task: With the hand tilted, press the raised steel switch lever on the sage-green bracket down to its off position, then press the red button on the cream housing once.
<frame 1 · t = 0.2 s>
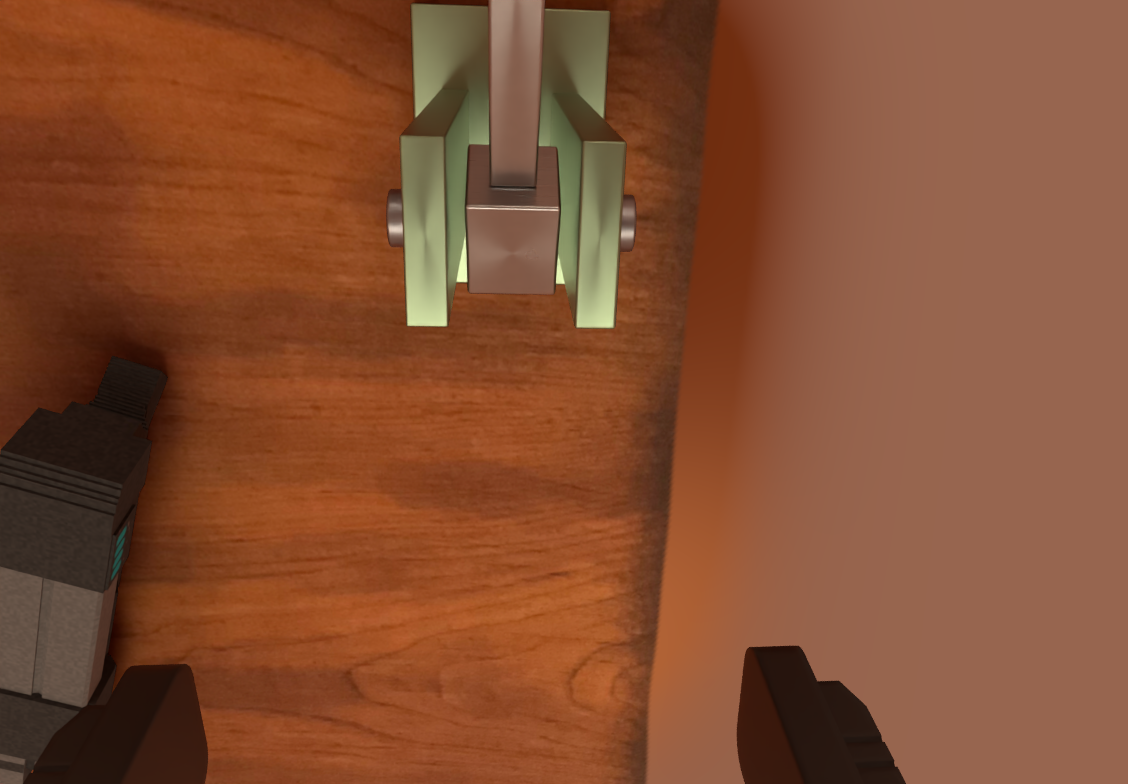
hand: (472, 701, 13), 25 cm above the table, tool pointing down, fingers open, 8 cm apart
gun: (102, 558, 40), on the table
switch bracket: (509, 149, 34), on the table
switch lever: (516, 0, 18), point 16 cm above the table, hinge at 28.0°
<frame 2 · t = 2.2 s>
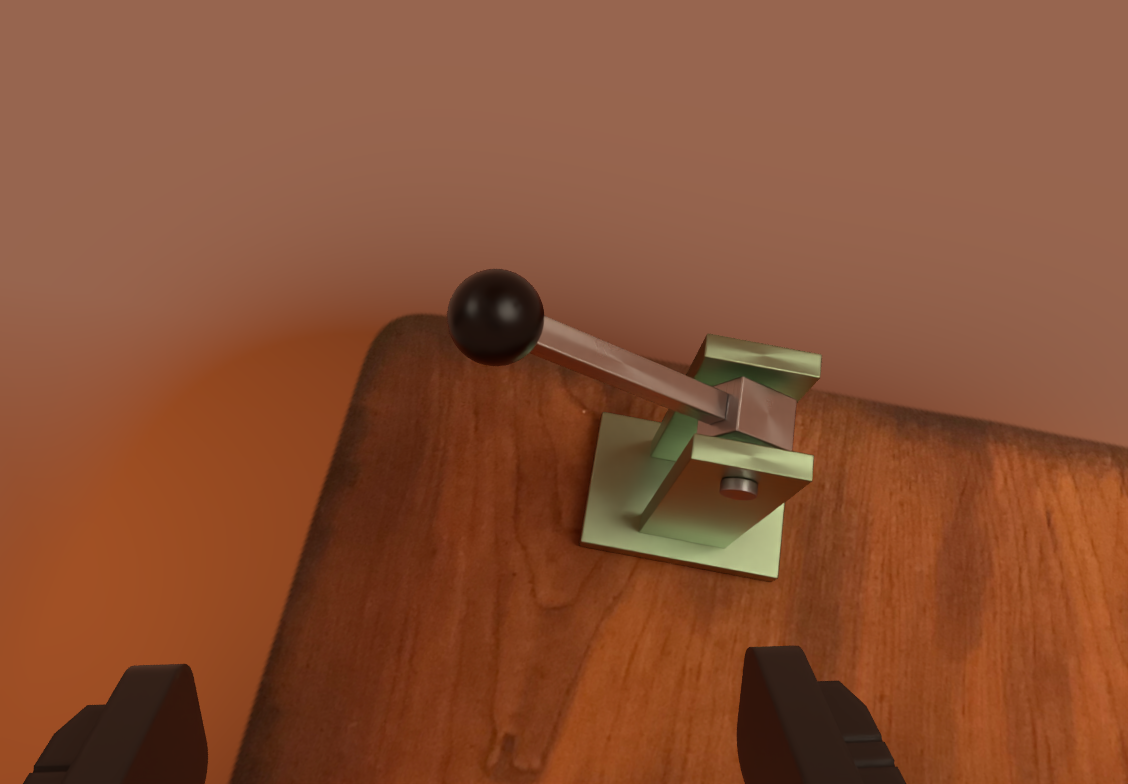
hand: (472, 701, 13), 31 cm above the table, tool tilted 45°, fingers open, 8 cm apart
switch bracket: (683, 498, 46), on the table
switch lever: (628, 372, 32), point 16 cm above the table, hinge at 28.0°
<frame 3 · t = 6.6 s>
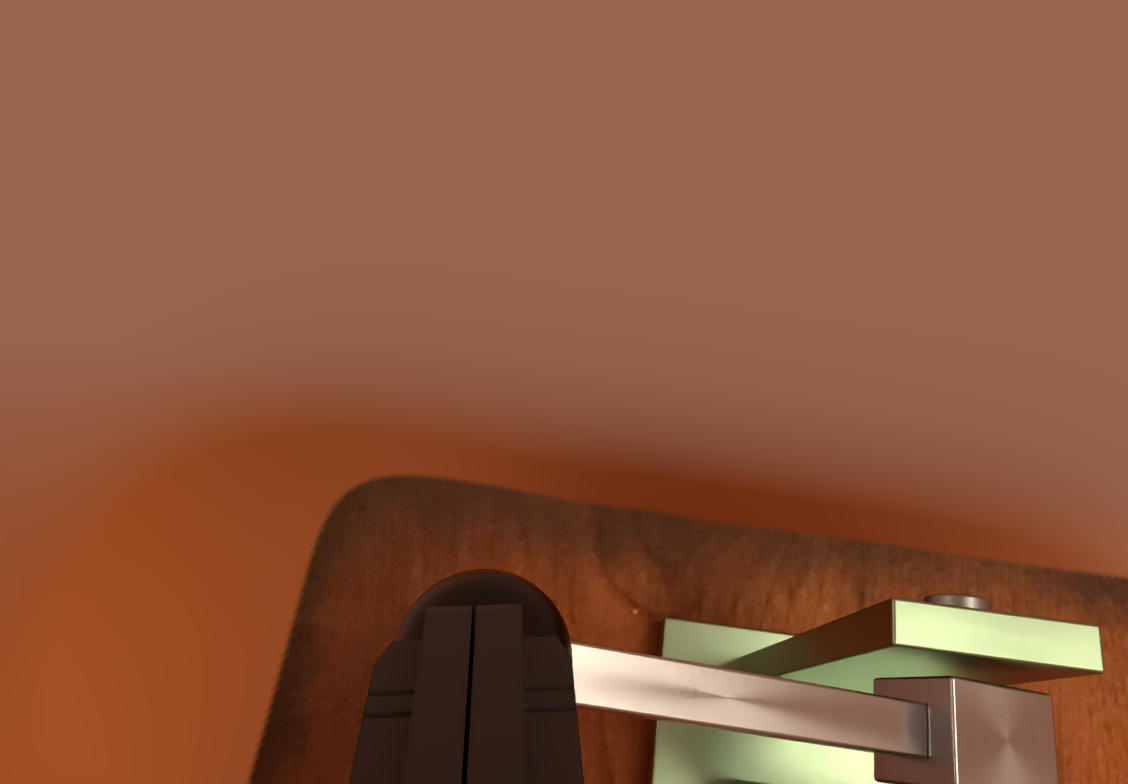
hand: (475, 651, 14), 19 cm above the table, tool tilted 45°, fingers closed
switch bracket: (791, 739, 31), on the table
switch lever: (741, 702, 17), point 15 cm above the table, hinge at 19.7°
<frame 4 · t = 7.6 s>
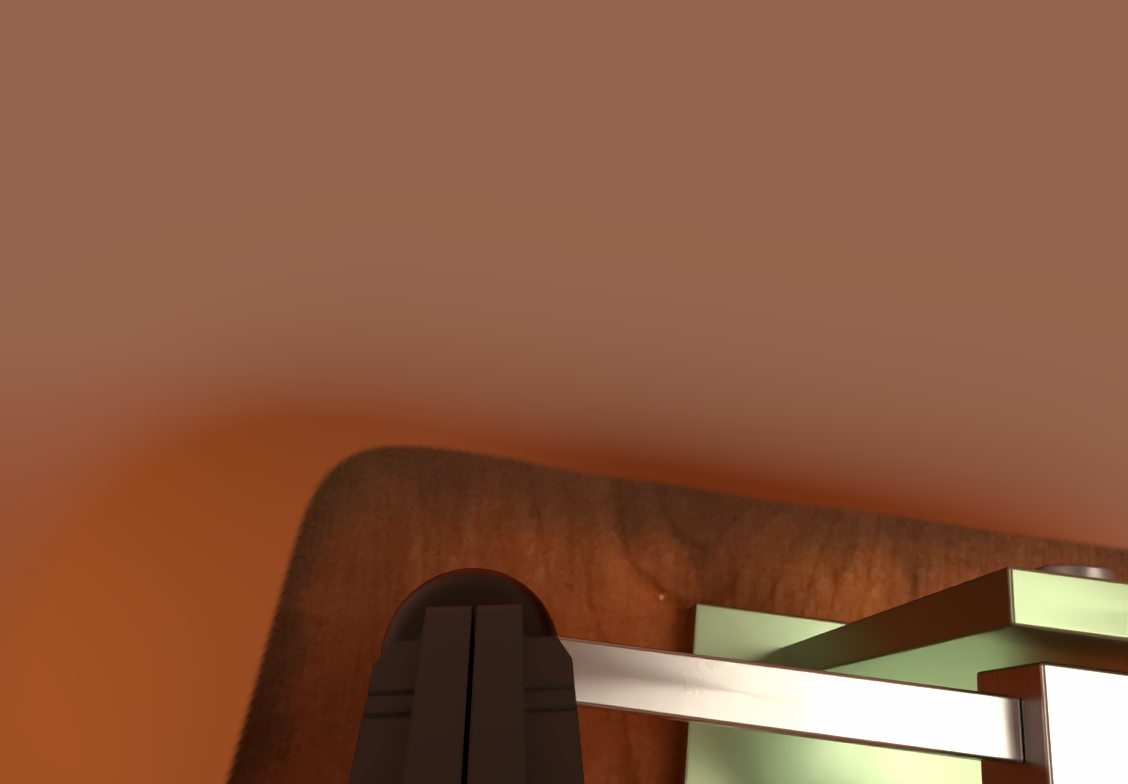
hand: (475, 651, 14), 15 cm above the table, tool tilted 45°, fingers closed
switch bracket: (839, 741, 28), on the table
switch lever: (772, 699, 16), point 13 cm above the table, hinge at -1.0°
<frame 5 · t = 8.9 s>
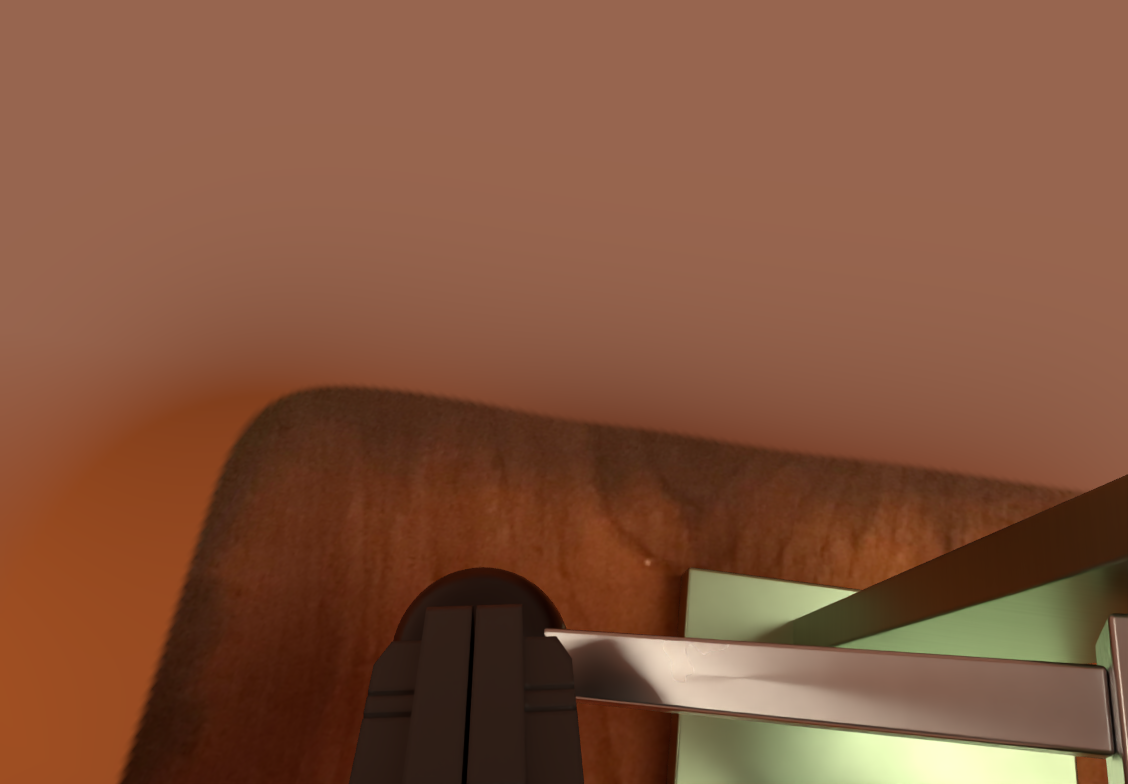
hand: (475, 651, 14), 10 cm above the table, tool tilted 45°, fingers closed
switch bracket: (861, 733, 23), on the table
switch lever: (786, 685, 13), point 10 cm above the table, hinge at -28.2°, touching gripper
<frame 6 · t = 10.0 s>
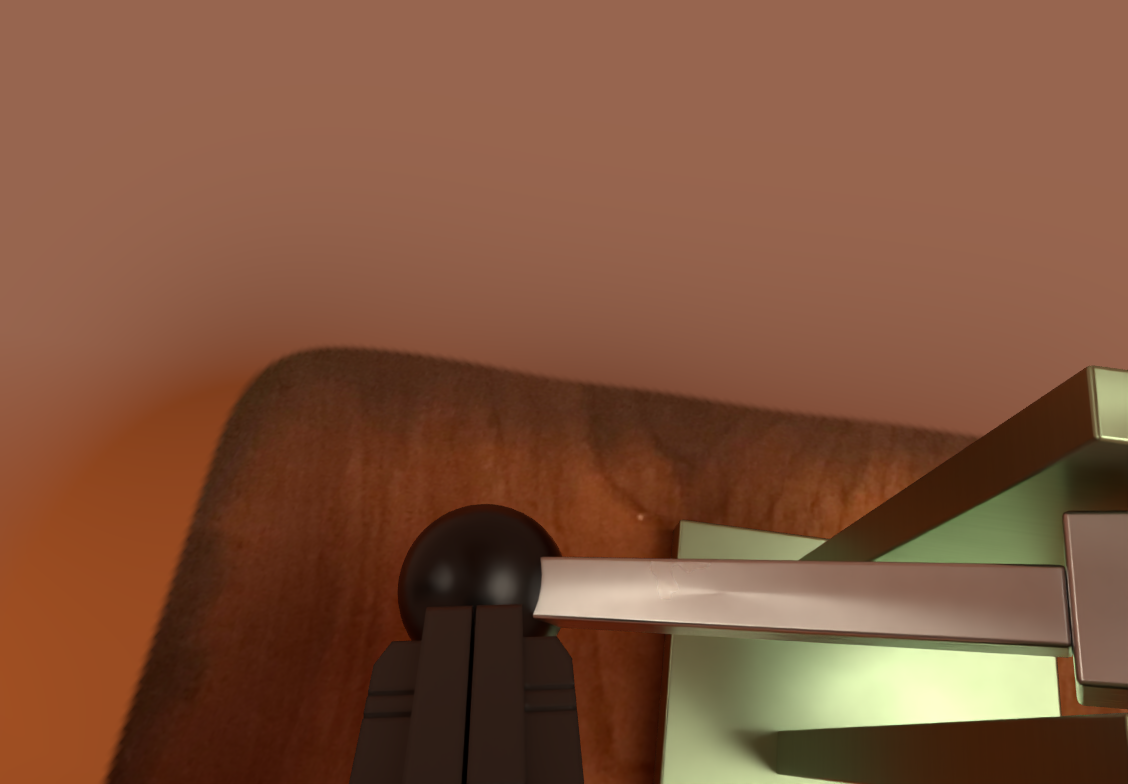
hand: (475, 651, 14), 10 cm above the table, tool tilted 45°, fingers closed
switch bracket: (849, 682, 23), on the table
switch lever: (766, 600, 14), point 10 cm above the table, hinge at -30.5°
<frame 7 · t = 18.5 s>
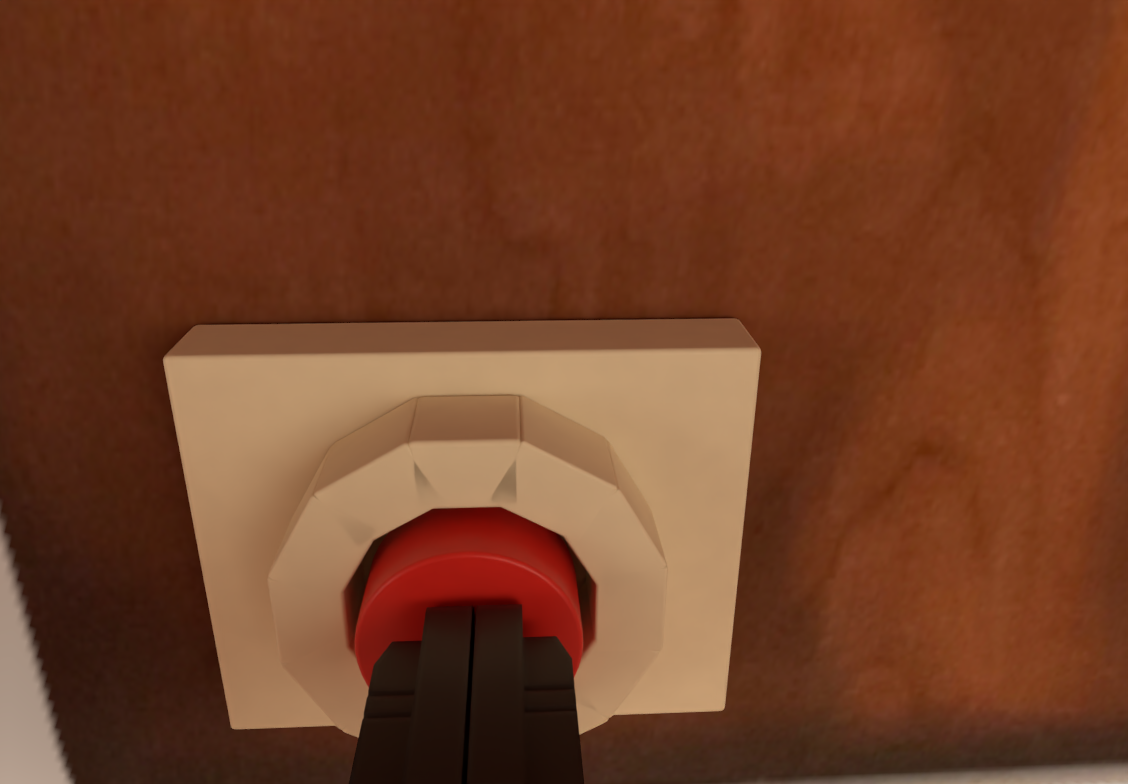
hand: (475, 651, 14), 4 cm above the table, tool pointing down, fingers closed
red button: (471, 615, 15), point 3 cm above the table, slide at -0.4 cm, touching gripper
button box: (478, 507, 18), on the table
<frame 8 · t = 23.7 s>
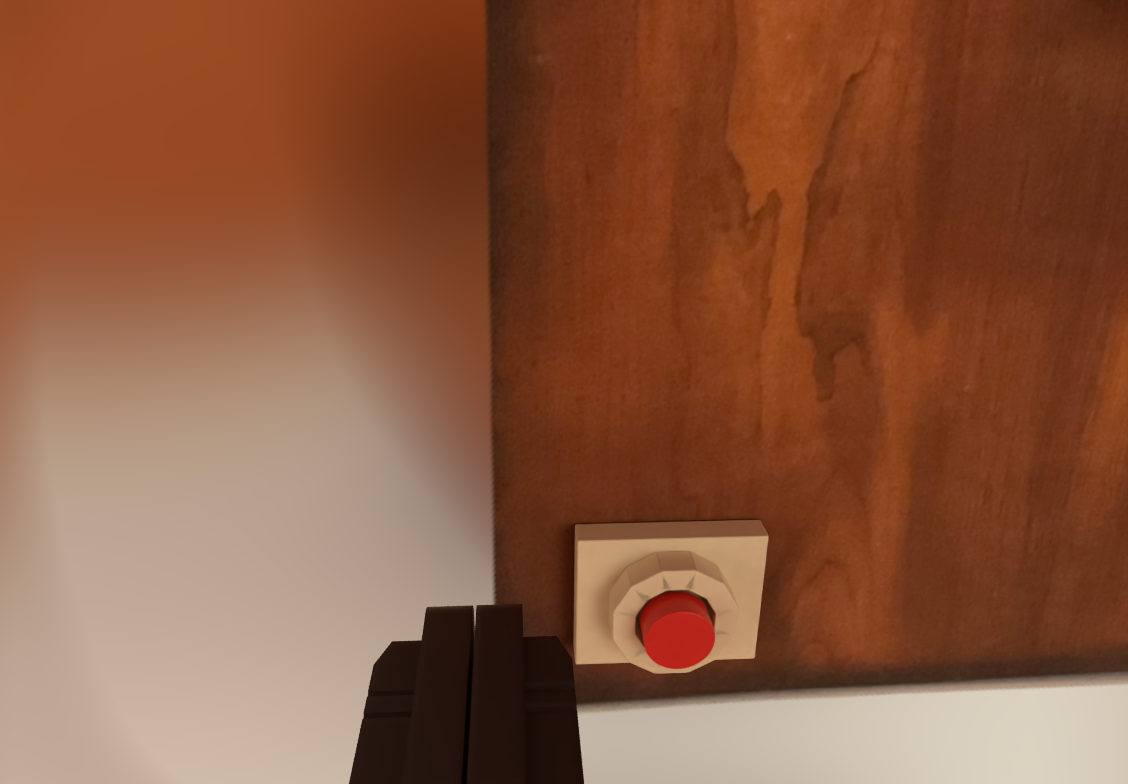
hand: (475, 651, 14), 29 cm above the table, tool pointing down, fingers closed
red button: (677, 630, 45), point 4 cm above the table, slide at 0.1 cm
button box: (664, 583, 49), on the table
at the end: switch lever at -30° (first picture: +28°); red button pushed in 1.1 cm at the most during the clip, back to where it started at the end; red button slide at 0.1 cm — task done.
